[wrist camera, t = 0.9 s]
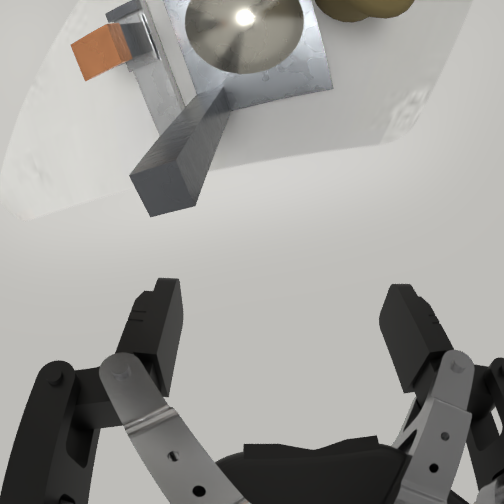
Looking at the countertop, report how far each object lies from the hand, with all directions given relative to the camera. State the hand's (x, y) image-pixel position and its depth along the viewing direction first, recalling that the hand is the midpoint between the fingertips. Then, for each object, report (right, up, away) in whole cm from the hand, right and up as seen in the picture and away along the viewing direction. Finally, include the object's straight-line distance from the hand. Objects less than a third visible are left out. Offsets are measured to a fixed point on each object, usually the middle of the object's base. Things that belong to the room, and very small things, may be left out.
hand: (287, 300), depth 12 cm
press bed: (-2, +22, +11) cm, 25 cm away
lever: (-11, +21, +11) cm, 26 cm away
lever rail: (-10, +19, +15) cm, 26 cm away
